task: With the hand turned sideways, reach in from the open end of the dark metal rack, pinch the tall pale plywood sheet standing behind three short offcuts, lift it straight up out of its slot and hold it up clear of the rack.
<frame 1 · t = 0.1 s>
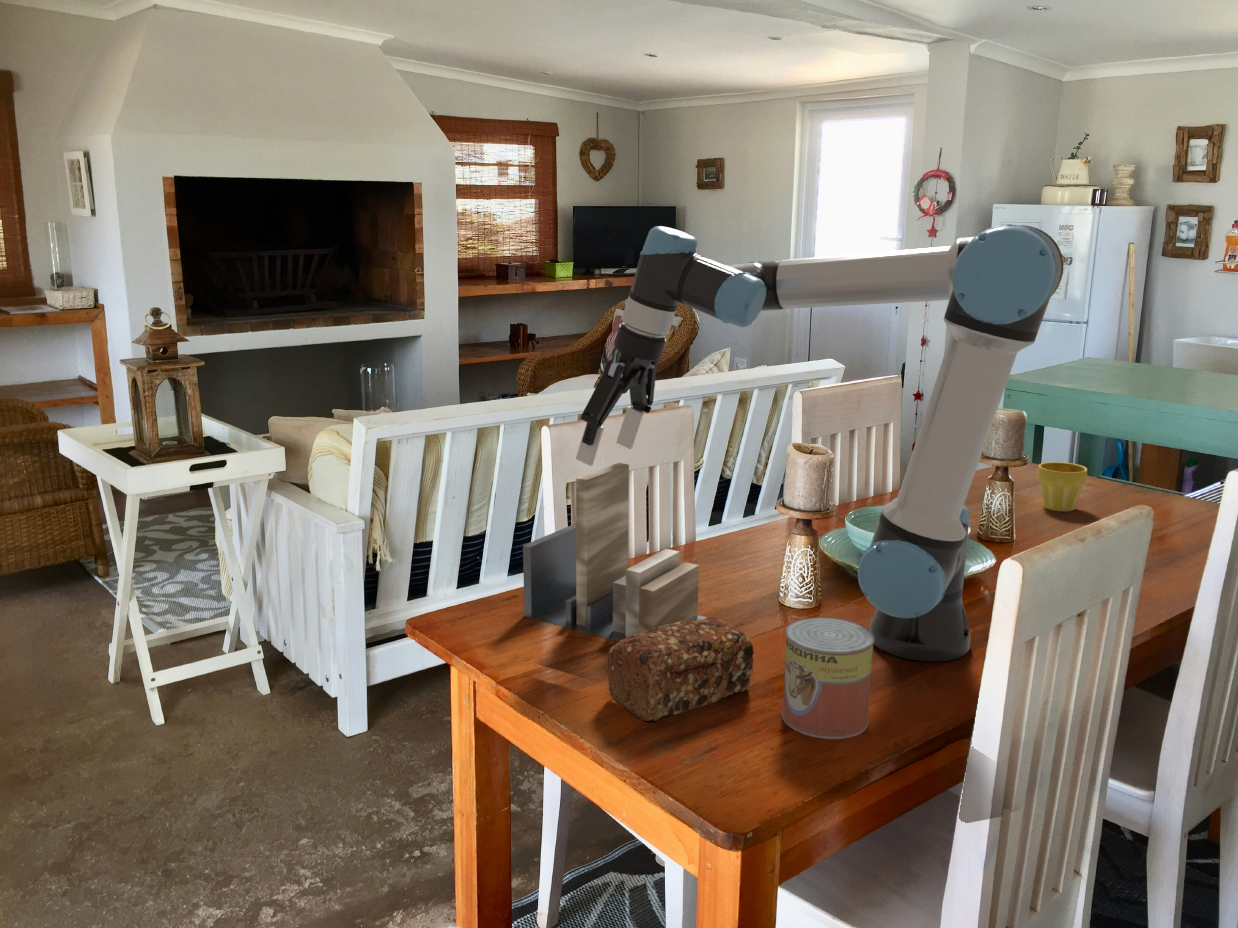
hand: (604, 453, 161), 28 cm above the table, tool tilted 20°, fingers open, 13 cm apart
plant pot: (1058, 508, 232), on the table
bread: (680, 695, 140), on the table
canned food: (824, 719, 134), on the table
plywood sheet: (602, 613, 164), point 1 cm above the table, touching metal rack
offcut stack: (653, 593, 158), point 7 cm above the table
metal rack: (613, 624, 164), on the table
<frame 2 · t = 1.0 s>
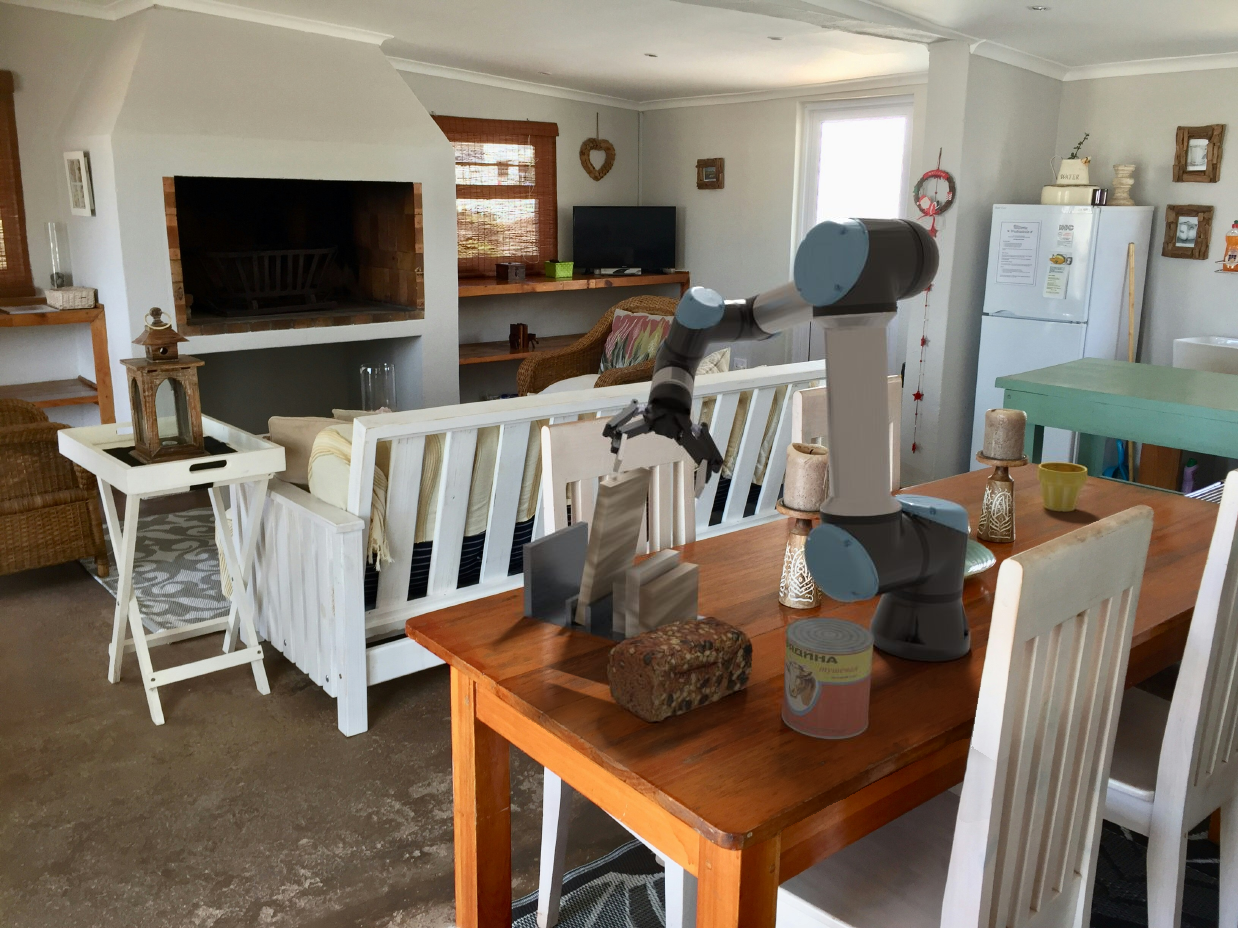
hand: (658, 479, 158), 25 cm above the table, tool tilted 65°, fingers open, 13 cm apart
plywood sheet: (600, 611, 165), point 2 cm above the table, tilted 12°, touching metal rack
everything else where it was.
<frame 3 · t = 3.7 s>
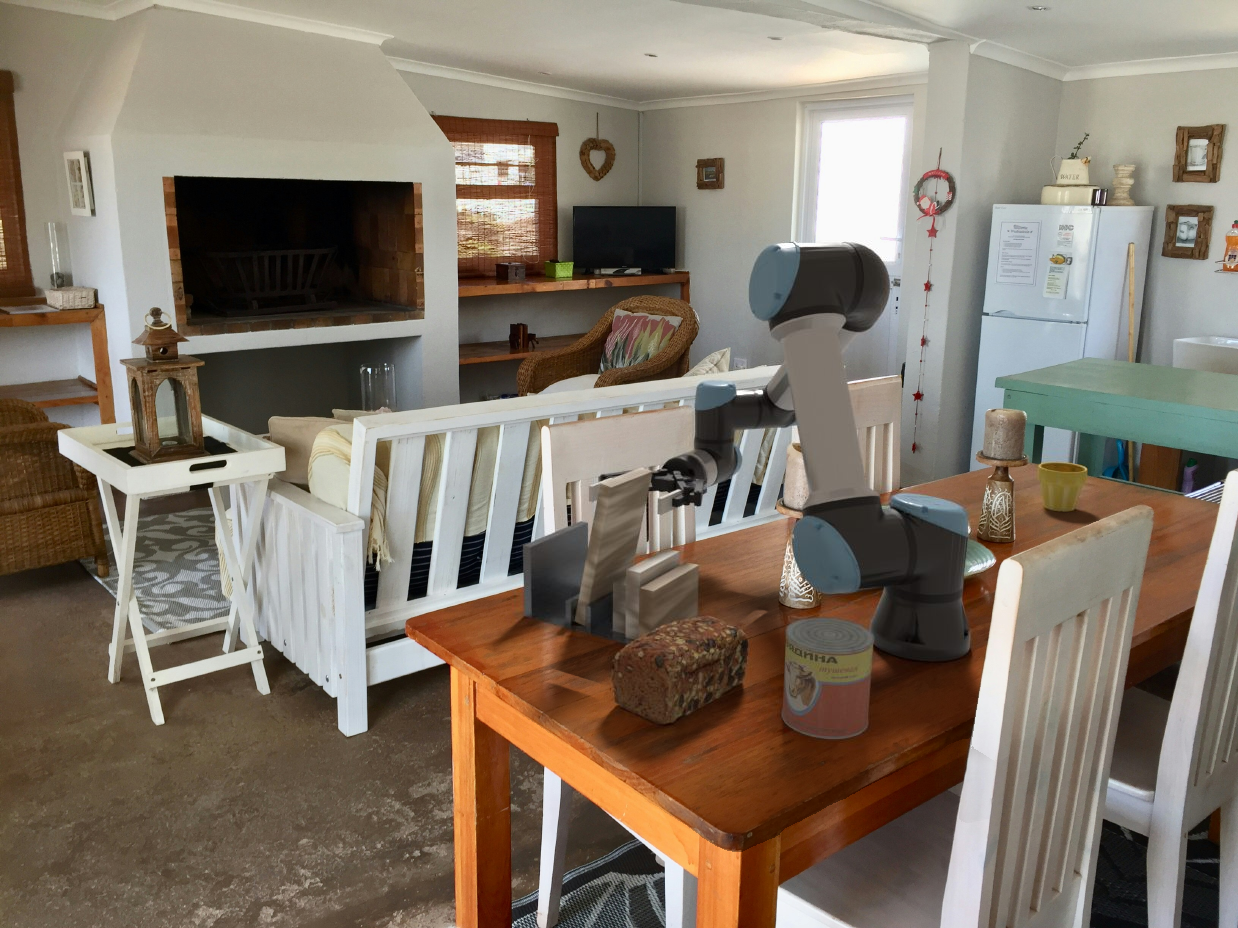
hand: (624, 500, 166), 19 cm above the table, tool horizontal, fingers open, 13 cm apart
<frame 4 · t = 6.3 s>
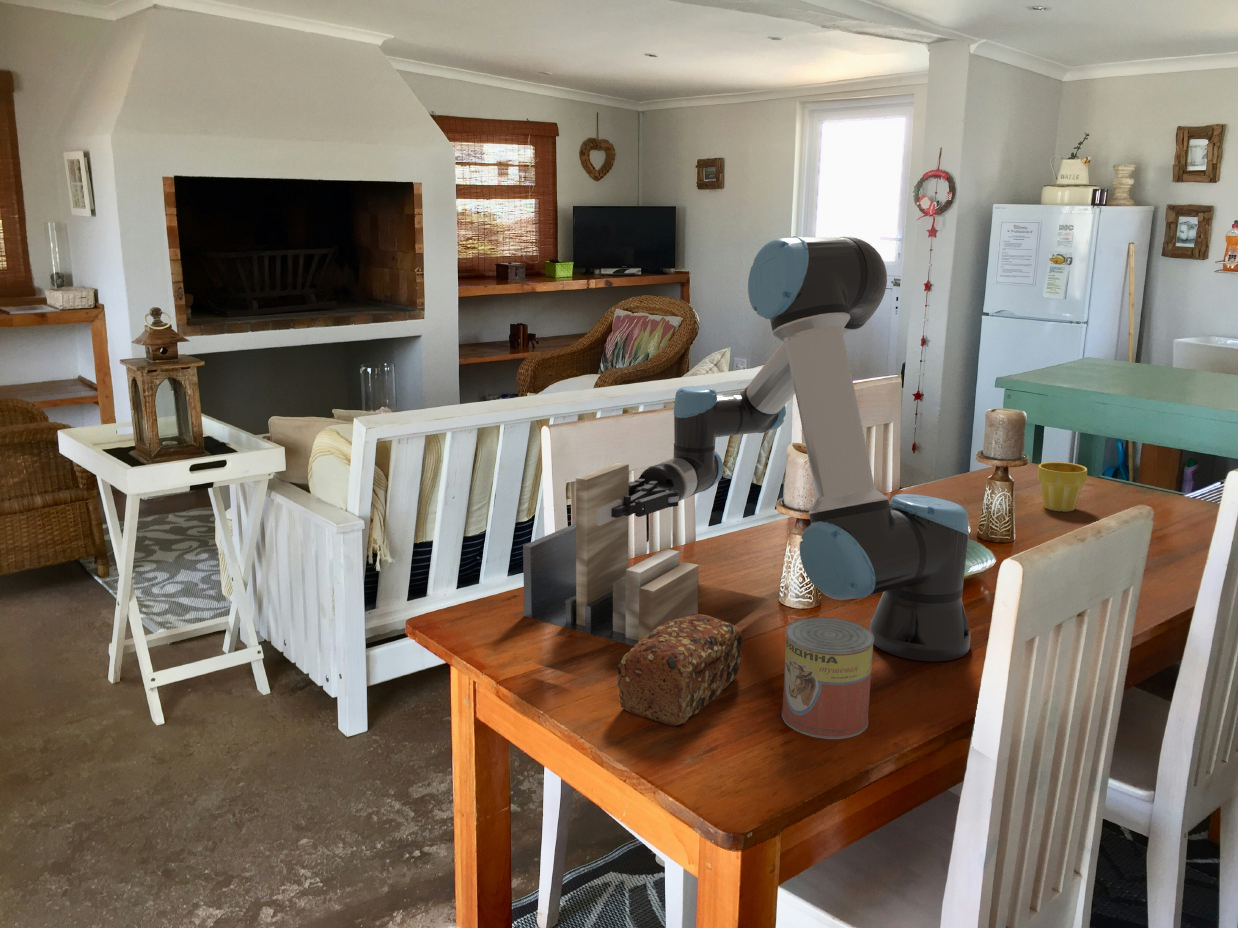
hand: (590, 515, 157), 19 cm above the table, tool horizontal, fingers closed on plywood sheet, 2 cm apart
plywood sheet: (602, 613, 164), point 2 cm above the table, touching gripper
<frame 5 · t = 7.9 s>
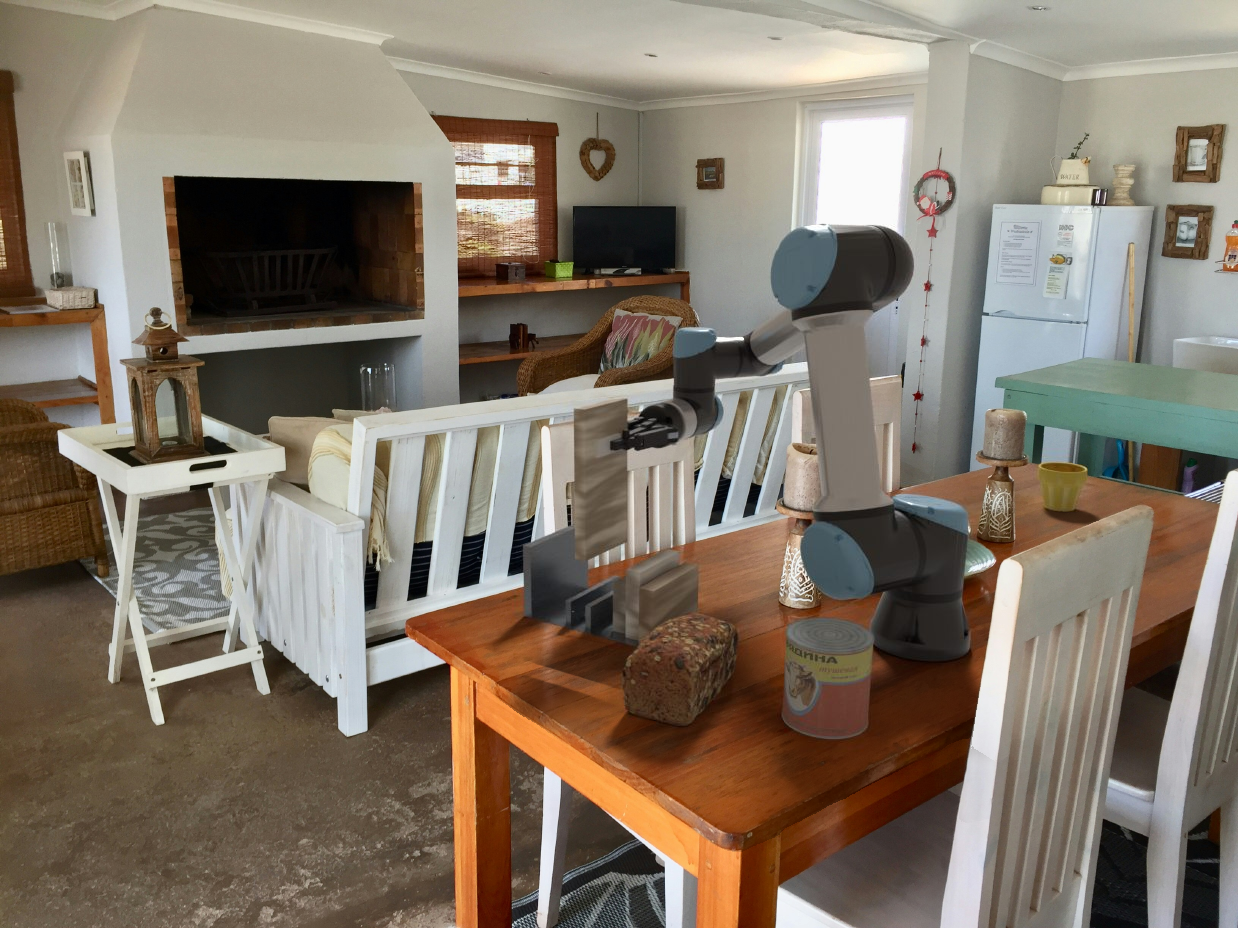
hand: (588, 448, 155), 30 cm above the table, tool horizontal, fingers closed on plywood sheet, 2 cm apart
plywood sheet: (601, 550, 162), point 12 cm above the table, touching gripper
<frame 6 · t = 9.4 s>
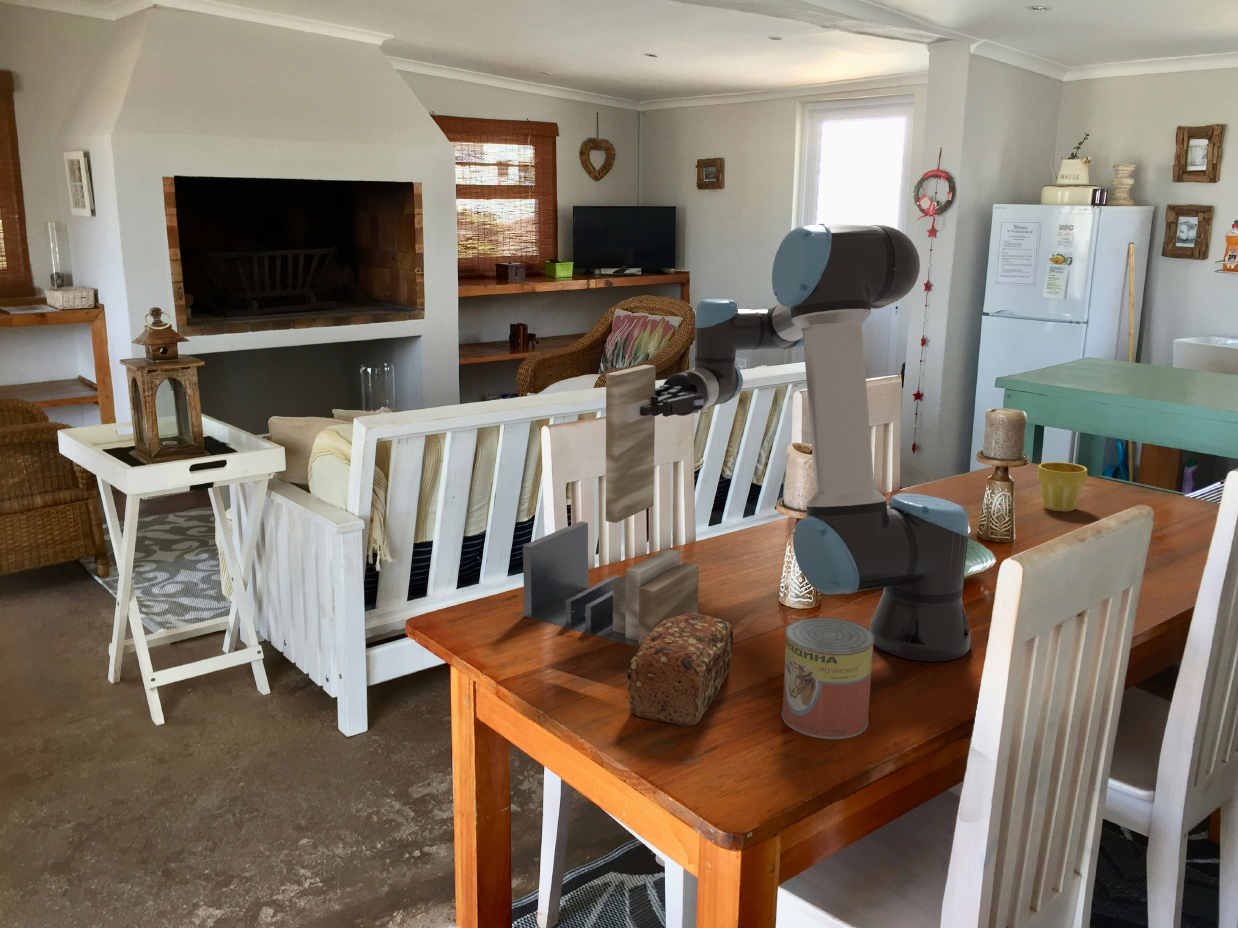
hand: (619, 413, 160), 34 cm above the table, tool horizontal, fingers closed on plywood sheet, 2 cm apart
plywood sheet: (630, 513, 167), point 17 cm above the table, touching gripper
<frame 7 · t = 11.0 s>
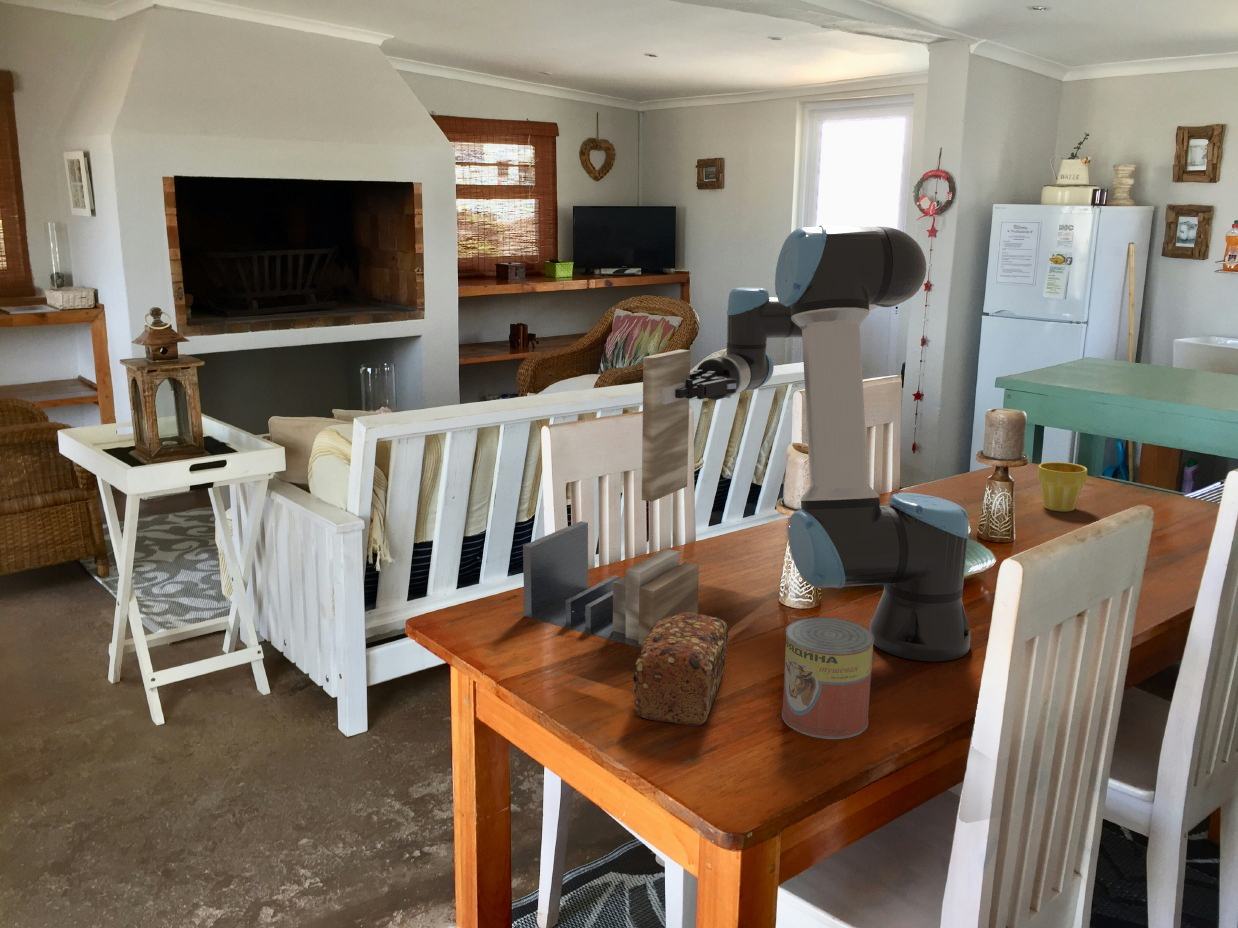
hand: (656, 395, 166), 36 cm above the table, tool horizontal, fingers closed on plywood sheet, 2 cm apart
plywood sheet: (665, 492, 173), point 18 cm above the table, touching gripper
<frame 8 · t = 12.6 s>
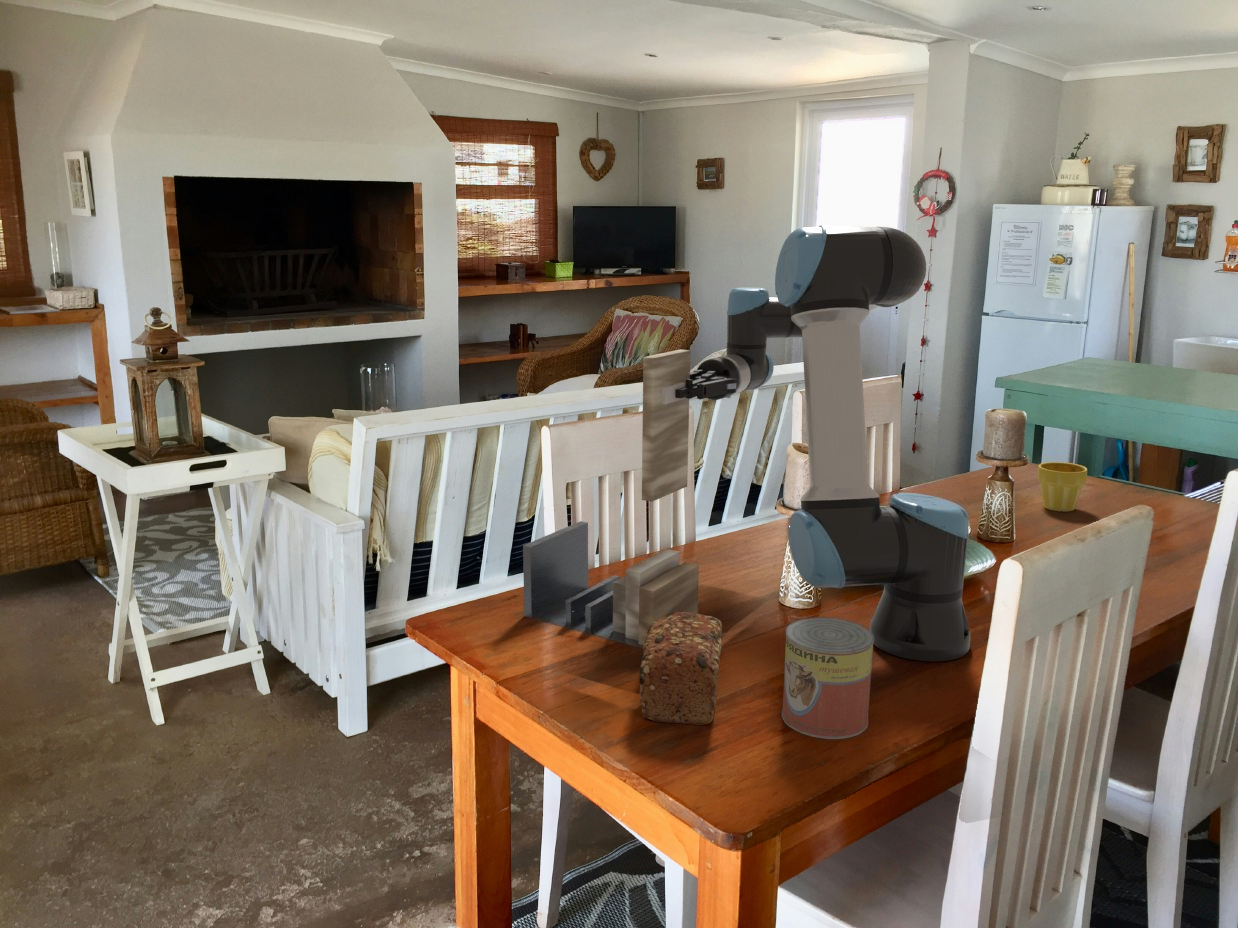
hand: (656, 395, 166), 36 cm above the table, tool horizontal, fingers closed on plywood sheet, 2 cm apart
plywood sheet: (665, 492, 173), point 18 cm above the table, touching gripper
at the end: the gripper is holding plywood sheet; plywood sheet point 18.4 cm above the table; plywood sheet touching gripper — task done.
